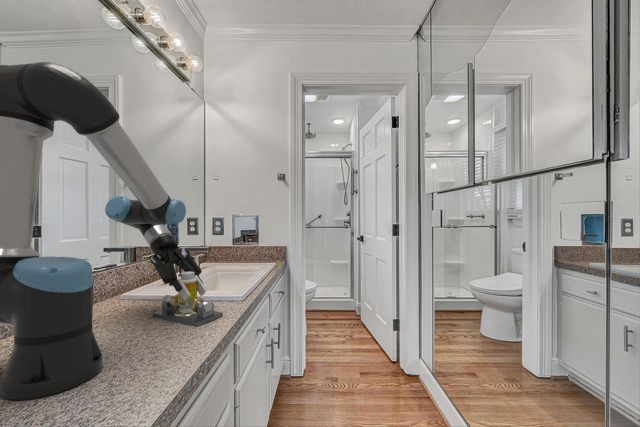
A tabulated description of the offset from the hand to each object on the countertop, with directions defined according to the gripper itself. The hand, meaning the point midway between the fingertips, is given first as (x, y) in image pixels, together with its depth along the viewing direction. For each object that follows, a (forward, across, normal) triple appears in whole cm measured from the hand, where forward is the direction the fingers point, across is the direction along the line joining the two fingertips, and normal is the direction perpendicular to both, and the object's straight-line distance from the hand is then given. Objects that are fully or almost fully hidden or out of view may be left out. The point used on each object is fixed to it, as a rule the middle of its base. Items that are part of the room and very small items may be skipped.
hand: (195, 295), depth 94 cm
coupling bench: (+2, 0, -8) cm, 8 cm away
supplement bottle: (0, 0, -5) cm, 5 cm away
